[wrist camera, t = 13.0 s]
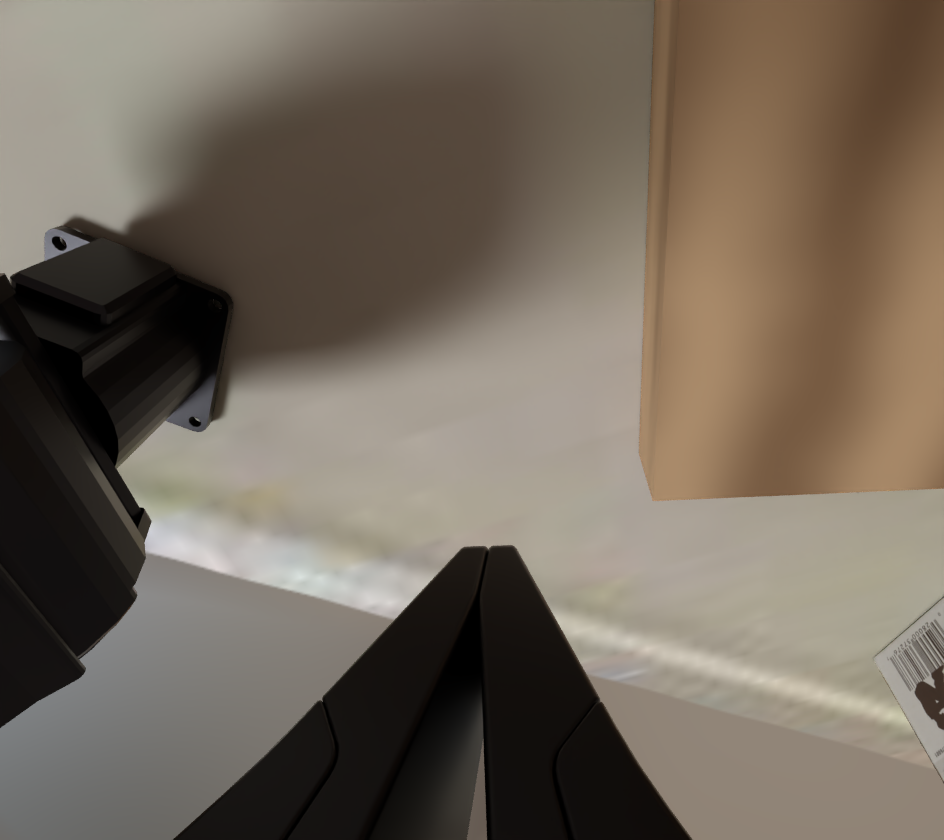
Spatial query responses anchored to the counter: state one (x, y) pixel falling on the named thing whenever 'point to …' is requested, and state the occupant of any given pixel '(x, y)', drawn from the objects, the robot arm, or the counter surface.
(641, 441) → the stool seat
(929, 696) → the coffee box
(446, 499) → the counter surface
